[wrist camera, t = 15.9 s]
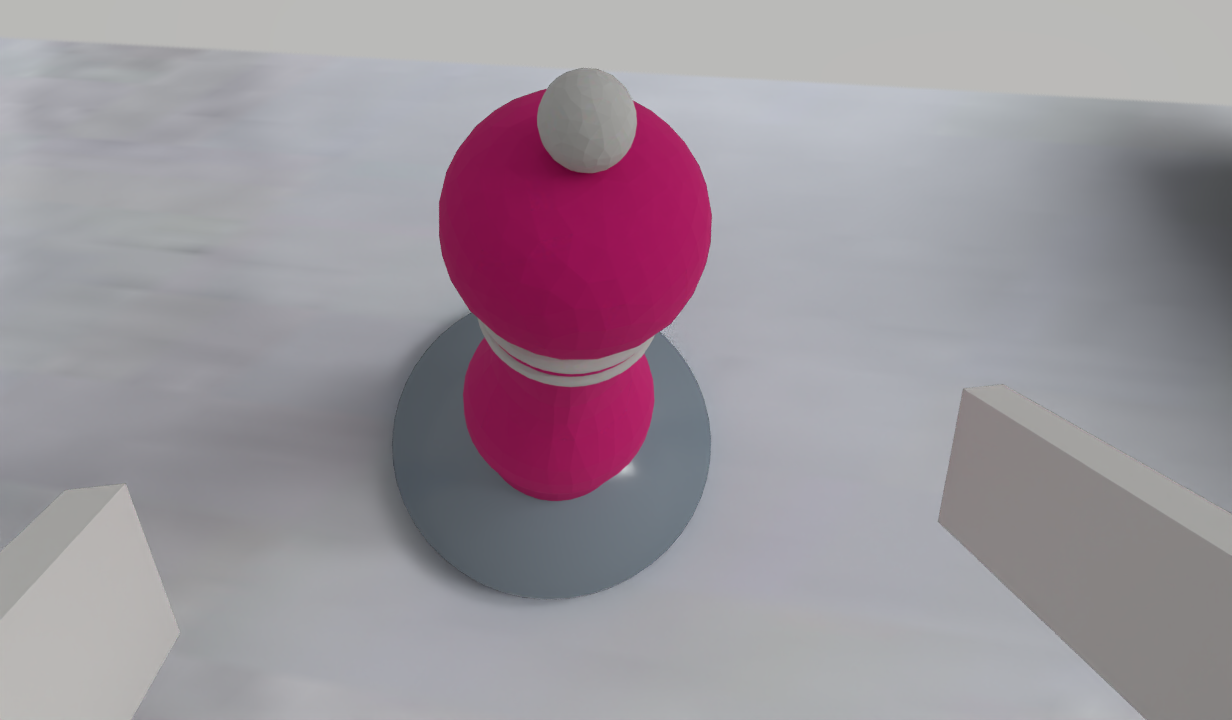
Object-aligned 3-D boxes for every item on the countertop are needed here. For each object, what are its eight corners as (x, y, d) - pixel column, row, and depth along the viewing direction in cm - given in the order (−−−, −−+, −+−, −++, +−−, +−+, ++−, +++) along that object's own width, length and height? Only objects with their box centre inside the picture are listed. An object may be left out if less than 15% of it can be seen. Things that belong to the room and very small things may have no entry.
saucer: (615, 261, 34) (617, 250, 33) (762, 501, 30) (769, 497, 29) (349, 372, 30) (343, 364, 29) (477, 666, 26) (475, 667, 25)
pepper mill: (552, 550, 27) (586, 368, 9) (438, 427, 29) (269, 56, 10) (670, 434, 30) (883, 108, 12) (559, 327, 31) (594, -114, 13)
